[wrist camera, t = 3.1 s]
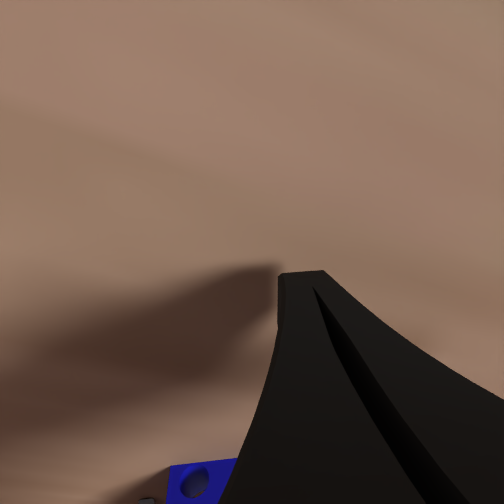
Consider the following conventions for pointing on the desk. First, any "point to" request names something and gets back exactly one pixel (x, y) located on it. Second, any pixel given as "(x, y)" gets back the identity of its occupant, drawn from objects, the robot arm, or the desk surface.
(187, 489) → the cable clip
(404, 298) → the desk surface
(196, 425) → the desk surface
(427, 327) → the desk surface
